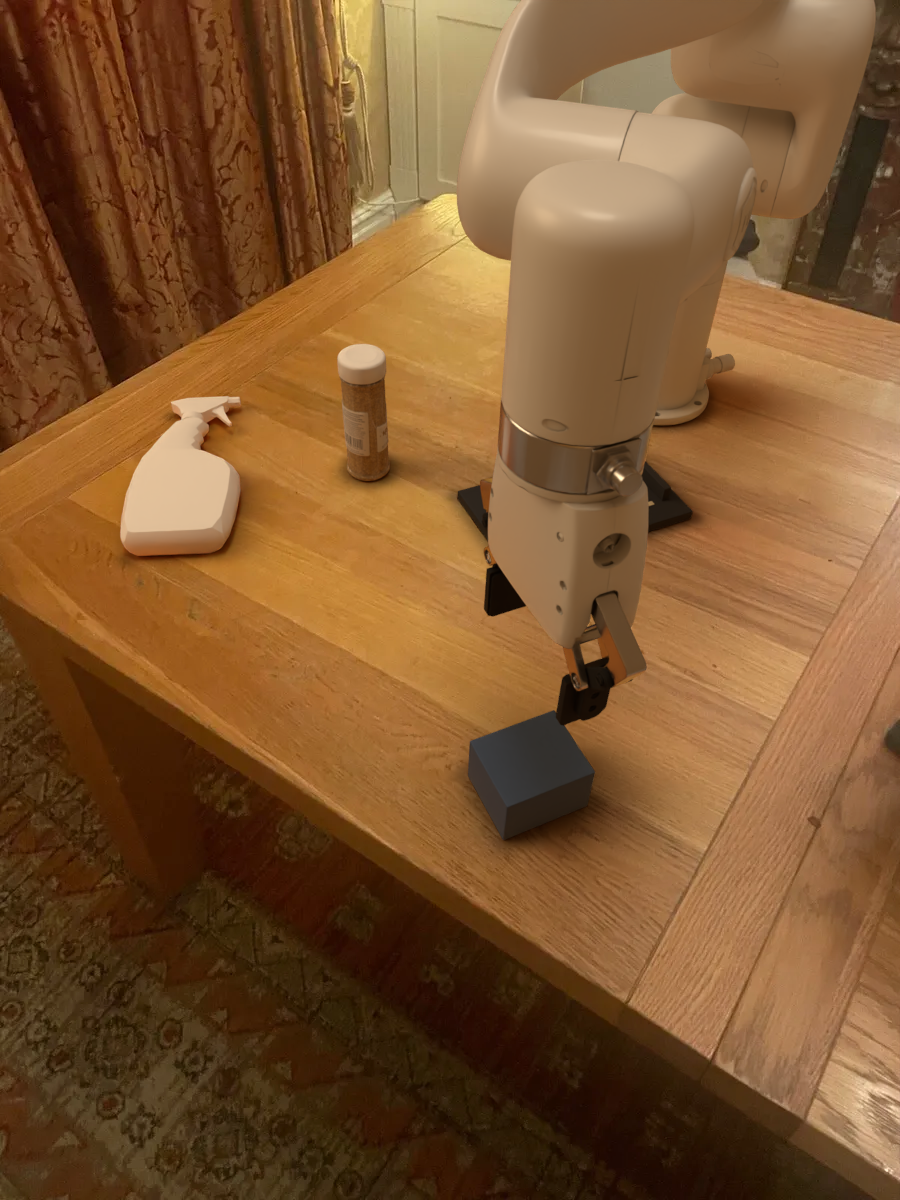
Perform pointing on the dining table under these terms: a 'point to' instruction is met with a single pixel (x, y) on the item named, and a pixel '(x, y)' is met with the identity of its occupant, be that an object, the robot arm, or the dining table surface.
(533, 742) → the back pad
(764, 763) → the dining table surface
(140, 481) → the spray bottle
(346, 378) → the sprinkles bottle
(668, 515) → the pad base
